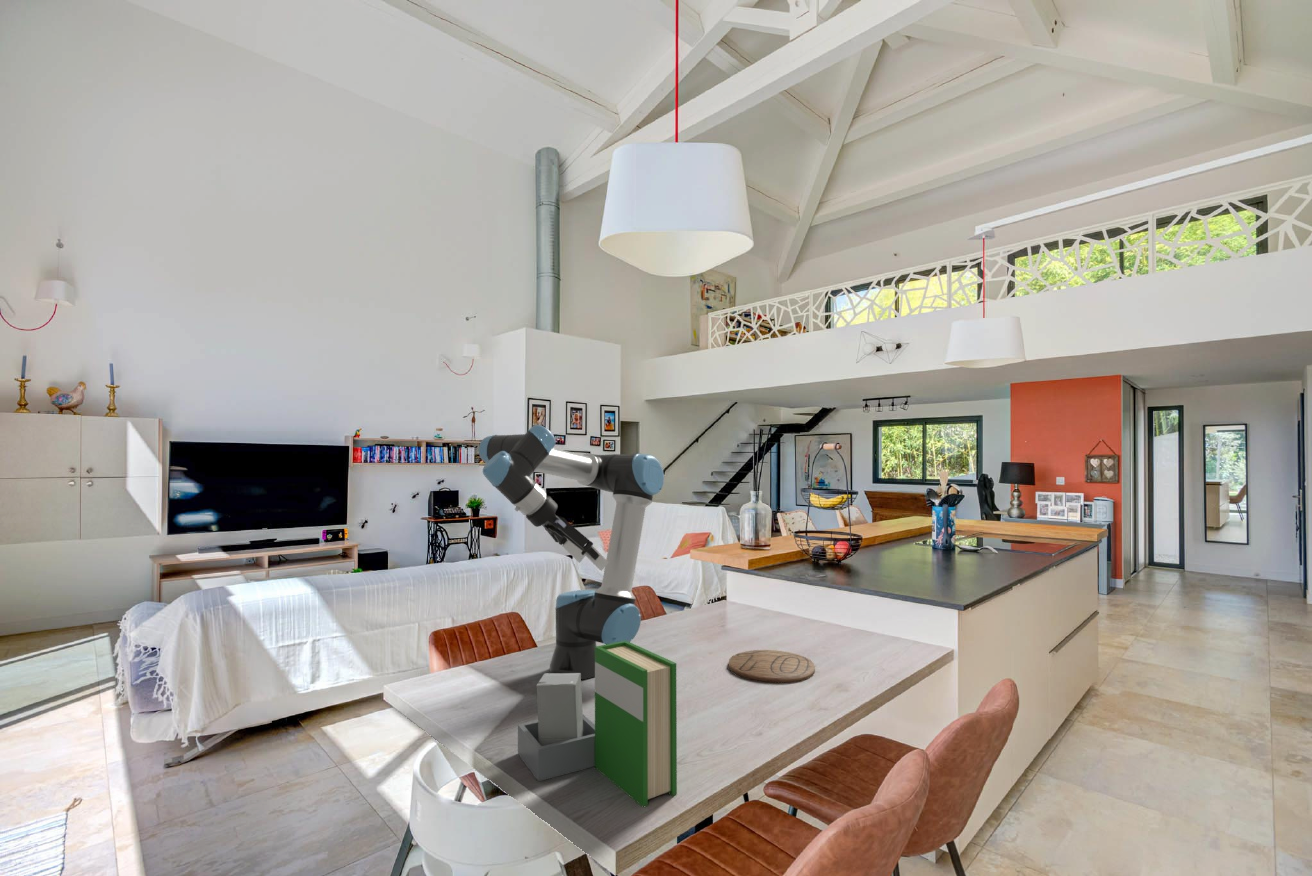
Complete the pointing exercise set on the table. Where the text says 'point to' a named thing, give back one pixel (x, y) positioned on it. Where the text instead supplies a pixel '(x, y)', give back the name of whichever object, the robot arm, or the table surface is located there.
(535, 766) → the bin
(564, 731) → the skincare box
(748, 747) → the table surface
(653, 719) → the hardback book
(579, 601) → the robot arm
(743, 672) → the trivet
